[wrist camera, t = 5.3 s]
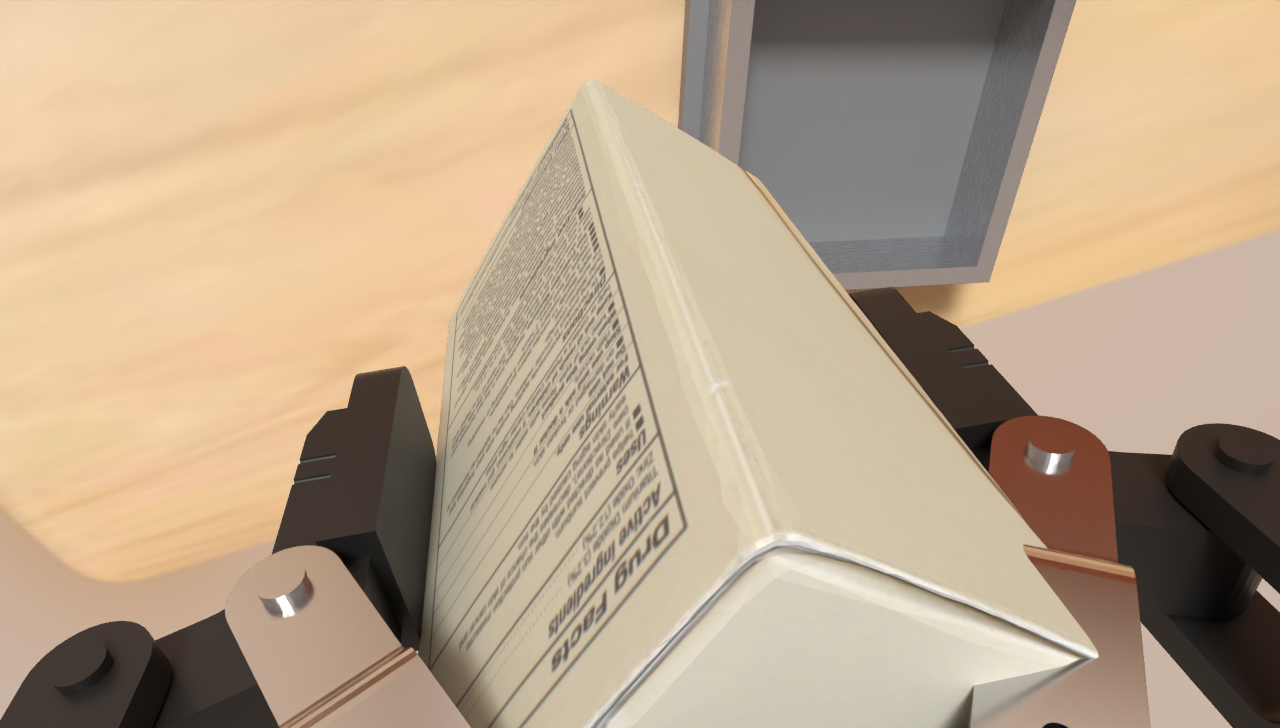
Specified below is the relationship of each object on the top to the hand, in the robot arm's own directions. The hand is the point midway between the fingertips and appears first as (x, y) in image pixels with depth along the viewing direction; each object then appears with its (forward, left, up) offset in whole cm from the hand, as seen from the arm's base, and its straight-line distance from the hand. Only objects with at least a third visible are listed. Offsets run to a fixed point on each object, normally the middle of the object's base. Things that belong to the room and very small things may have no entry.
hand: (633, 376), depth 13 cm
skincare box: (0, 0, -5) cm, 5 cm away
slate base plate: (-12, +2, -21) cm, 25 cm away
